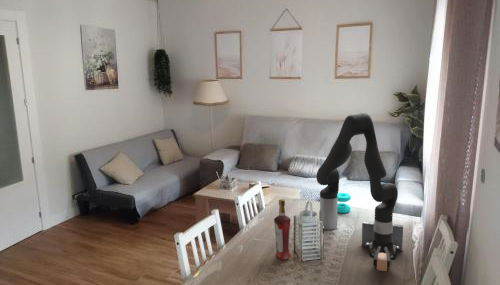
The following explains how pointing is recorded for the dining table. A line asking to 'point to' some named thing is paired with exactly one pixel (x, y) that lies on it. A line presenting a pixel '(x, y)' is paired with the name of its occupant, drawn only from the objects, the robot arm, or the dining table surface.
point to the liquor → (282, 233)
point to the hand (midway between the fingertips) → (381, 266)
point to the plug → (382, 262)
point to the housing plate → (369, 232)
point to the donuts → (341, 206)
